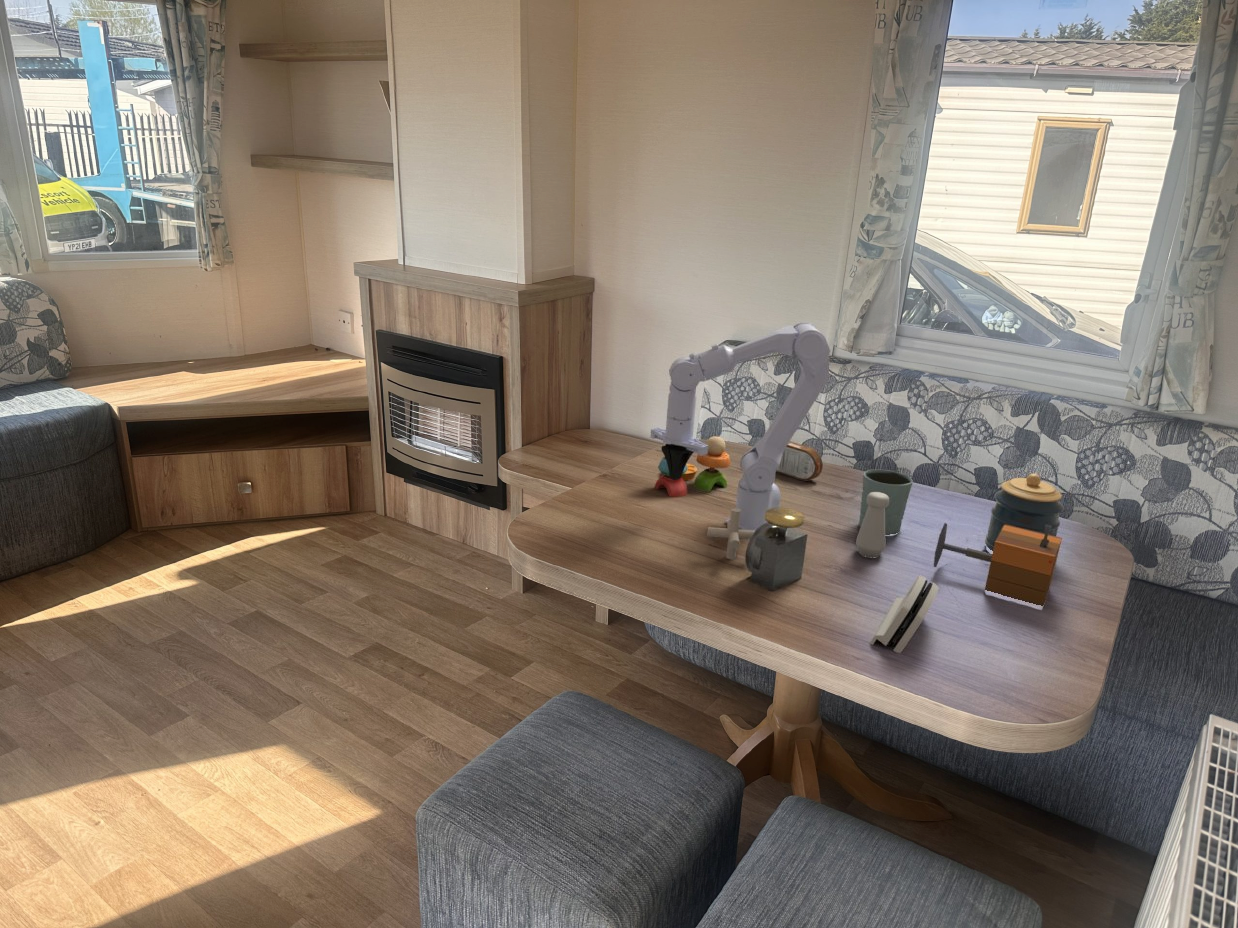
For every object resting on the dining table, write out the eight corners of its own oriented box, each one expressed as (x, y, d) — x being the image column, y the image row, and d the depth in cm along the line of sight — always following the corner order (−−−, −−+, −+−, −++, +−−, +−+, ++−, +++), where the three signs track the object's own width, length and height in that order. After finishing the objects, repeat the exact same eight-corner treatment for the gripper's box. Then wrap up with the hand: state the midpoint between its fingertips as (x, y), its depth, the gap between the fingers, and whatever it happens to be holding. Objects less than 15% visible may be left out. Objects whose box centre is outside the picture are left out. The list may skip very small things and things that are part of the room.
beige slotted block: (891, 604, 157) (920, 561, 153) (915, 619, 156) (945, 576, 151) (869, 644, 143) (899, 598, 139) (895, 661, 142) (926, 615, 137)
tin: (820, 482, 217) (825, 450, 214) (814, 485, 215) (818, 453, 212) (770, 466, 226) (774, 435, 224) (763, 469, 224) (766, 437, 221)
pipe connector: (758, 570, 167) (764, 521, 164) (706, 566, 168) (711, 517, 164) (754, 549, 177) (759, 502, 173) (704, 545, 177) (709, 498, 174)
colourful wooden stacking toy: (684, 467, 222) (688, 420, 218) (734, 488, 210) (740, 438, 206) (630, 480, 210) (633, 430, 206) (680, 503, 198) (685, 451, 194)
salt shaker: (886, 552, 179) (896, 492, 175) (881, 562, 174) (892, 501, 170) (857, 545, 181) (866, 486, 177) (851, 555, 176) (861, 495, 172)
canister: (1059, 555, 183) (1079, 476, 177) (1038, 573, 173) (1058, 490, 168) (997, 536, 191) (1013, 459, 185) (973, 552, 182) (990, 472, 176)
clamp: (941, 561, 177) (954, 495, 172) (1049, 590, 167) (1066, 520, 162) (928, 580, 168) (942, 510, 163) (1041, 611, 158) (1059, 538, 154)
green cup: (852, 531, 188) (860, 479, 184) (858, 516, 197) (866, 465, 193) (901, 541, 185) (910, 488, 181) (905, 525, 194) (914, 473, 190)
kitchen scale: (775, 564, 170) (783, 502, 166) (807, 578, 165) (816, 515, 161) (742, 578, 163) (750, 514, 159) (775, 594, 158) (783, 527, 154)
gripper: (642, 411, 183) (637, 472, 188) (693, 428, 174) (688, 492, 178) (665, 406, 188) (660, 466, 192) (717, 423, 178) (710, 485, 183)
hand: (675, 478), depth 185 cm, fingers closed
